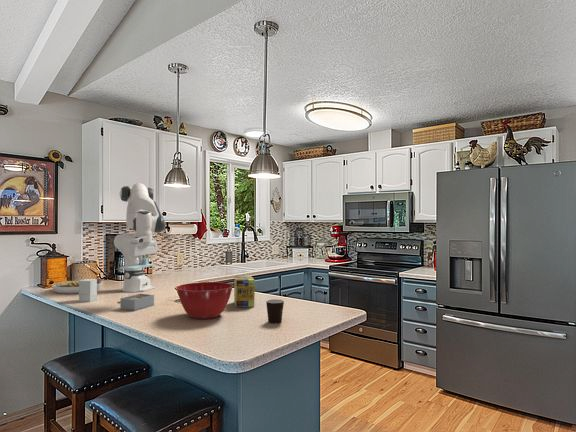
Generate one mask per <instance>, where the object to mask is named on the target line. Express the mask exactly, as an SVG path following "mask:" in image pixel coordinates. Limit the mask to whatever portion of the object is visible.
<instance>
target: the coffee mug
mask: <svg viewBox="0 0 576 432" xmlns="http://www.w3.org/2000/svg"><path fill="white" fill-rule="evenodd" d="M284 302H285V300H282V299H275V298H274V299H267V300H266V313H267V322H268V324H276V325H277V324H280V323H282V321H283V311H284V304H285V303H284Z"/></svg>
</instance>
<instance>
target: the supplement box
mask: <svg viewBox="0 0 576 432" xmlns="http://www.w3.org/2000/svg"><path fill="white" fill-rule="evenodd" d="M96 300H98V290H97V279H96V278H84V279H81V280H80V281H79V293H78V302H85V303H88V302H89V303H91V302H93V301H94V302H95V301H96Z"/></svg>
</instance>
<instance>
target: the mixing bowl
mask: <svg viewBox="0 0 576 432" xmlns="http://www.w3.org/2000/svg"><path fill="white" fill-rule="evenodd" d="M233 288H234V285H233V284H232V283H227V282H221V281H220V282H218V281H217V282H216V281H214V282H213V281H212V282H211V281H204V282H203V281H202V282H191V283H190V282H189V283H183V284H180V285H177V286H176V290H177V294H178V298H179V300H180V304H181V306H182V307H183V309H184V311H185V313H186V314H187V315H188V316H189V317H191V318H193V319H197V320H199V319H200V320H203V319H204V320H205V319H206V320H207V319H213V318H217V317H219V315H221V314H222V313H223V312H224V311H225V309H226V307H227V305H228V302H229V300H230V298H231V294H232V291H233Z"/></svg>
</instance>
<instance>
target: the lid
mask: <svg viewBox="0 0 576 432" xmlns="http://www.w3.org/2000/svg"><path fill="white" fill-rule="evenodd" d="M149 258H150V257H149ZM149 258H145V257H142V260H143V263H138V264H132V265H127V266H125V265H122V266H118V267H119V269H123V270H125V269H132V270H135V269H140V268H142V269H143V268H145V269H146V268H148V267H149V268H150V267H154V266H155V264H154V263H150V262H149V261H150V259H149Z"/></svg>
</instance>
